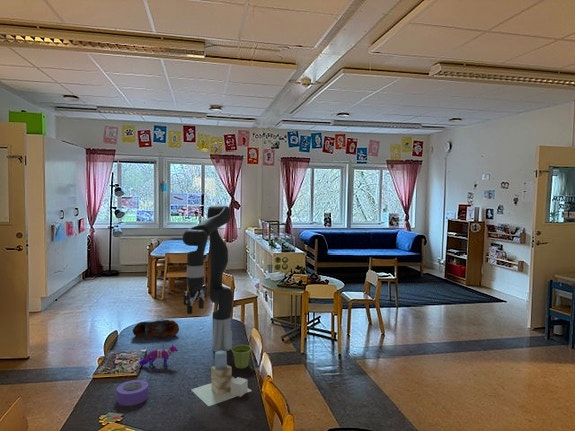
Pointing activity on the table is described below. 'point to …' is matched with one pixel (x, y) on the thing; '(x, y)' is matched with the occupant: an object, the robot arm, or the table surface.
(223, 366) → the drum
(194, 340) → the table surface
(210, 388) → the mat
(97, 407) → the table surface
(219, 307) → the robot arm
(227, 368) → the tower top
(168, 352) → the toy dog
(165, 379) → the table surface
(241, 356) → the plant pot
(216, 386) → the tower base
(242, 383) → the block
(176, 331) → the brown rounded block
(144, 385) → the tape roll
